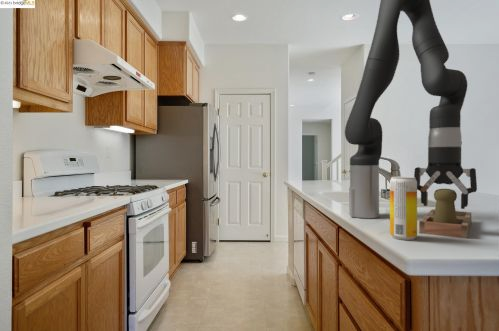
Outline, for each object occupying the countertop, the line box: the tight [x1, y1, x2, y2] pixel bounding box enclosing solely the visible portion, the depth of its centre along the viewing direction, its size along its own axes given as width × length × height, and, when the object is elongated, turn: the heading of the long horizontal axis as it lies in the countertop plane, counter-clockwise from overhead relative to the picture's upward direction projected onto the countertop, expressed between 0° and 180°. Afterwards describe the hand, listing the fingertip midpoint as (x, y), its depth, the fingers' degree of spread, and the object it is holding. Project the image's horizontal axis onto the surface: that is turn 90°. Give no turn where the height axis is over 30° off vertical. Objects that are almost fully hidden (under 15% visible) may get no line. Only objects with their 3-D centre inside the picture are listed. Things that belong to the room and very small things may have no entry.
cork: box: [433, 188, 458, 224], centre depth 86 cm, size 6×6×11 cm
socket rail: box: [418, 209, 472, 239], centre depth 91 cm, size 23×10×3 cm, turn 144°
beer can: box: [389, 175, 418, 241], centre depth 80 cm, size 6×6×15 cm
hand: (443, 207), depth 86 cm, fingers open, 8 cm apart
